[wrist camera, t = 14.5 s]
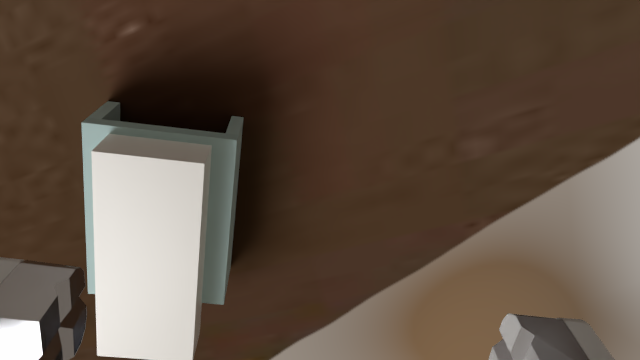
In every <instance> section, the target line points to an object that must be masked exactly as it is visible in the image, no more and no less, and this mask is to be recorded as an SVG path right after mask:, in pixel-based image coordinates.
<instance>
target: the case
mask: <svg viewBox="0 0 640 360" xmlns="http://www.w3.org/2000/svg"><path fill="white" fill-rule="evenodd" d="M243 118H244V117H238V116H231V119H230V122H229V125H228V128H227V131H226V133H218V132H209V131H201V130H192V129H183V128H175V127H166V126H157V125H148V124H140V123H131V122H122V121H120V102H111V101H107V102H106V103H105V104H104V105H102V106H101V107H100V108H99V109H97V110H96V111H95V112H94V113H93V114H91V115H90V116H89V117H88V118H86V119H85V120H84V121H83V122H82V147H83V173H84V199H85V225H86V252H87V278H88V294H95V262H94V227H93V191H92V156H91V151H92V150H93V149H94V148H95V147H96V146H97V145H98V144H99V143H100V142H101V141H102V140H103V139H104V138H105V137H106V136H107V135H108V134H117V135H126V136H134V137H143V138H152V139H161V140H169V141H178V142H187V143H196V144H204V145H212V152H211V167H210V182H209V198H208V213H207V228H206V243H205V258H204V274H203V289H202V303H211V304H223V305H224V300H225V294H226V289H227V284H228V278H229V273H230V268H231V257H232V246H233V234H234V223H235V211H236V199H237V188H238V176H239V164H240V153H241V141H242V129H243Z"/></svg>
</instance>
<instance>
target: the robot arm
mask: <svg viewBox="0 0 640 360" xmlns="http://www.w3.org/2000/svg"><path fill="white" fill-rule="evenodd" d="M84 287H85V277H84V271H83V270H82V268H81V267H76V266H68V265H61V264H53V263H45V262H37V261H30V260H25V261H24V260H20V259H12V258H3V257H0V360H69V359H71V358H72V357H74V356H75V354H76V352H77V350H78V348H79V346H80V344H81V341H82V338H83V334H84V331H85V326H86V318H87V312H86V305H85V303H84V302H83V301H82V300H81V299H80V297H79V296H80V294H81V292H82V291H83V289H84ZM499 330H500V332H501V335H502V337H503V340H501V341H500V342H499V343H497V344H496V345H495V346H493V348H492V351H491V354H490V357H489V360H614V358H613V357H612V355H611V354H610V353H609V351H608V350H607V348H606V347H605V346H604V344H603V343H602V342H601V340H600V339H599V337H598V336H597V335H596V334H595V332H594V331H593V329H592V328H591V326H590V325H589V324H588V323H587V322H585V321H583V320H580V319H566V318H546V317H536V316H527V315H517V314H507V316H506V317H505V318H504V319H503V321H502V324H501V326H500V329H499Z"/></svg>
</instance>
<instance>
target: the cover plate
mask: <svg viewBox="0 0 640 360" xmlns="http://www.w3.org/2000/svg"><path fill="white" fill-rule="evenodd" d="M211 152H212V145H204V144H196V143H187V142H178V141H169V140H161V139H152V138H143V137H134V136H126V135H117V134H108V135H107V136H106V137H105V138H104V139H103V140H102V141H101V142H100V143H99V144H98V145H97V146H96V147H95V148H94V149H93V150H92V151H91V156H92V191H93V227H94V262H95V297H96V332H97V356H108V357H122V358H136V359H150V360H193V358H194V354H195V350H196V345H197V341H198V337H199V333H200V319H201V304H202V289H203V274H204V258H205V243H206V228H207V213H208V198H209V182H210V167H211Z"/></svg>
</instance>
